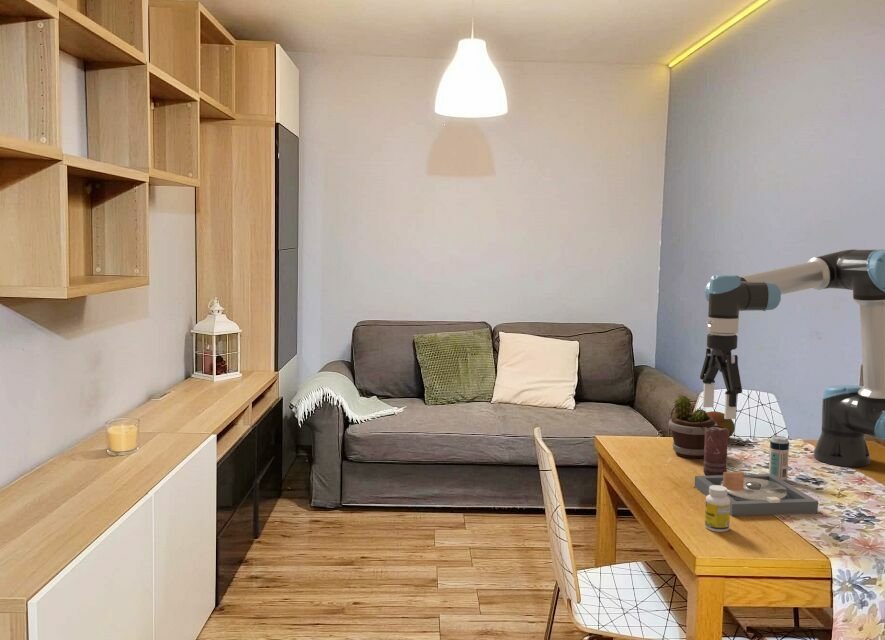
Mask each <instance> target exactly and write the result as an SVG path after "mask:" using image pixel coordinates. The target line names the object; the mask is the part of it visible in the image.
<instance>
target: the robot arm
mask: <svg viewBox="0 0 885 640" xmlns="http://www.w3.org/2000/svg"><path fill="white" fill-rule="evenodd" d="M809 289H814V290H817V291H820V290H826V289H839V290H850V291H852V298H853V299H852V300H854V301H855V302H856V303H857V304H858V305H859V316H860V320H859V321H860V338H861V340H860V341H861V358H862V375H863V377H862V378H863V380H862V381H863V385H856V384H855V385H854V384H853V385H849V384H848V385H847V384H845V385H843V384H841V385H830V386H826V387H825V388H824V390H823V397H822V406H821V407H822V410H821V412H822V413H821V433H820V436H819V438H818V440H817V443H816V445H815V447H814V449H813V451H814V452H813V457H814V459H815V460H817V461H819V462H821V463H824V464H829V465H833V466H839V467H850V468H851V467H853V468H855V467H856V468H859V467H866V466H869V465H870V464H871V463H870V462H871V455H870V452H869V448H868V444H867V442H866V437H865V435H869V436H871V437H874V438H877V439H879V440H883V441H884V440H885V249H844V250H839V251H836V252H831V253H828V254H824V255H823V254H822V255H819V256H815V257H811V258H810V259H808V260H807V262H803V263H800V264H794V265H790V266H785V267H781V268H774V269H769V270H767V271H760V272H756V273H751V274H746V275H743V276H742V275H741V276H739V275H737V274H736V275H735V274H714V275H712V276H711V277H710V279H709V282H708V283H707V284H706V286H705V289H704V296H705V297H704V298H705V299H706V301H707V302H708V310H707V311H708V312H707V313H708V317H707V321H706V325H707V331H708V332H709V333H707V337H706V347H707V348H706V349H705V350H706V351H705V357H704V361H703V363H702V364H703V365H702V369H701V373H700V376H699V378H700V380H702V383H703V394H702V408H714V407H715V406H714V403H715V383H716V380H715V379H716V377H717V375H718V372H720V373H721V375H722V378H723V383H724V385H725V388H726V391H725V393H724V394H725V401H724V414H725V415H724V418H725V419H732V420H736V419H737V403H738V395H739V394H742V393H743V387H742V382H741V375H740V370H739V364H738V363H739V358H738V354H732V351H733V350H736V349H737V348H738V338H739V337H738V335H737V334H738V333H739V320H740V319H739V315H740V312H742V311H763V312H766V311H773V310H775V309H777V308H778V306H779V305H780V303H781V300H782V295H786V294H791V293H795V292H799V291H804V290H809Z"/></svg>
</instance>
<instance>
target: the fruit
mask: <svg viewBox="0 0 885 640" xmlns="http://www.w3.org/2000/svg"><path fill="white" fill-rule="evenodd" d="M706 413H707V415H709V416H711V417H713V419H714V421H715V422H716V423H717V425H718V426H721V427H725V428H727V429H728V430H729V438H730V437H731V436H732V435H733V434H734V433H735V430H736V429H735V428H736V425H735V423H734V421H733V419H725V418H724V415H725V412H721V411H716V410H715V411H711V410H710V411H706Z"/></svg>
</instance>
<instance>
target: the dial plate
mask: <svg viewBox="0 0 885 640" xmlns="http://www.w3.org/2000/svg"><path fill="white" fill-rule="evenodd" d="M744 477H749V478H758V479H764V480H768V481H772V482H775V483H778V484H780V485H782V486H784V487H785V488H786V489H787V500H780V499H779V498H777V497H767V500H755V501H735V500H734V499H733V498H731V497H730V496H729V495H726V496H727V497H728V498H729V499H730V516H731V517H740V516H741V517H742V516H743V517H744V516H745V517H747V516H772V515H801V514H805V515H807V514H818V511H819V501H818V499H815V498H813V497H812V496H810V495H808V494H807V493H805V492H803V491H802V490H800V489H799V488H796V487H795V486H794V485H791V484H790V483H788V482H787V481H786V480H785V481H783V480H782V479H780V478H778V477H777V476H775V475H773V474H769V473H756V474H755V473H753V474H751V473H750V474H748V473H747V474H745V473H744ZM722 481H723V475H711V476H706V475H695V476H694V488H696V489H697V490H698V491H700V493H702V494H704V496H706V497H707V496H708V495H710V493H709V487H710V486H712V485H720V486H721V482H722Z"/></svg>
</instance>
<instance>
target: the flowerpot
mask: <svg viewBox="0 0 885 640" xmlns="http://www.w3.org/2000/svg"><path fill="white" fill-rule="evenodd" d="M688 397H689V395H686V393H685V394H683V393H681V394H680V393H679V395H677V398H676V399H674V400H673V402H672V403H673V404H674V405H673V411H672V412H674V413H673V414H674V415H673V416H671V418H670V419H669V421H668V429H670V431H671V434H672V439H673V442H672V444H671V445H672V449H673V451H674V453H675V454H676V455H677V456H679V457H683V458H687V459H704V446H705V430H706V427H707V426H718V425H717V423H716V422H715V421H714V419H713V417H711V416H709V415H707V413H706V412H707V410H706V407H701V406H698V408H696V409H695V410H694V411H692V408H691V407H692V399H691V398H688Z"/></svg>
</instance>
